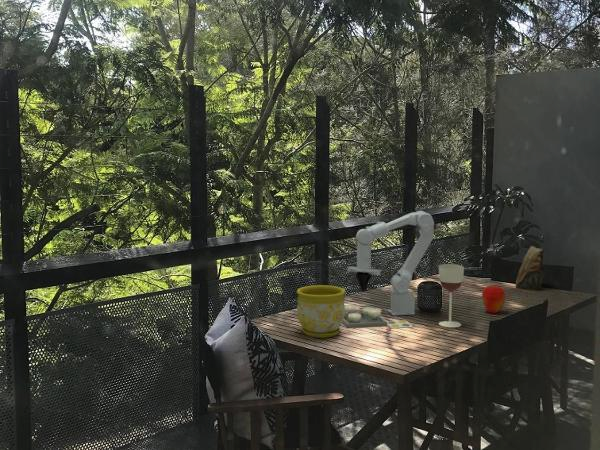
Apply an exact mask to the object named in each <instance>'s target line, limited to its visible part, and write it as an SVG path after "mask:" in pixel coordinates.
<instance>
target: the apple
mask: <svg viewBox="0 0 600 450" xmlns="http://www.w3.org/2000/svg"><path fill="white" fill-rule="evenodd" d="M481 295H482V301H483V306H484V308H485V310H486V311H487V312H488V313H491V314H497V313H498V312H500V311H501V310H502V309H503V307H504V305H505V302H506V293H505V291H504V289H503V288H502V287H500V286H497V285H496V286H495V285H488V286H486V287H485V288H484V289H483V291H482V294H481Z"/></svg>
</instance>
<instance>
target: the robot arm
mask: <svg viewBox="0 0 600 450" xmlns="http://www.w3.org/2000/svg"><path fill="white" fill-rule="evenodd" d="M407 225H410V226H415V227H417V229H418V231H419V237H418V238H417V240H416V242H415V244H414V246H413V248H412V250H411V251H410V253H409V255H408V256H407V258H406V260H405V262H404V263H403V265H402V267H401V268H400V269H399V270H397V273H396V274H395V275H393V276H392V277H391V278H390V285H391V287H392V288H391V291H390V309H387V312H388V313H390V314H391V315H392V316H406V315H409V316H411V315H416V312H415V303H416V302H415V294H414V293H413V292H412V291H409V289H410V283H411V281H412V278H413V274H414V272H415V271H416V268H417V267H418V265H419V263H420V262H421V260H422V258H423V257H424V255H425V253H426V251H427V250H428V248H429V246H430V245H431V242H433V239H434V237H435V236H434V232H435V231H434V225H435V221H434V218H433V216H432V215H431V214H430V213H428V212H425V211H424V210H417V211H415V212H410V213H407V214H405V215H403V216H401V217H399V218H396V219H394V220H391V221H390V222H389V221H388V222H387V223H386V222H385V221H377V222H376V223H375V224H373V225H371V226H368V225H367V226H366V227H365V228H362V229H359V230H358V231H357V233H356V235H355V238H356V240H357V242H356V245H357V246H356V266H347V272H348V273H355V277H356V279H357V281H358V285H359V287H360V291H361V292H365V291H367V287H368V284H369V281H370V279H371V278H372V276H373V275H374V276H380V275H381V269H376V268H372V264H371V263H372V247H371V243H372V241H375V240H378V239H379V238H380V239H381V238H382V237H383V238H384V237H385V236H388V235H389V233H390V231H392V230H395V229H398V228H401V227H404V226H407Z"/></svg>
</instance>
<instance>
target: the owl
mask: <svg viewBox="0 0 600 450" xmlns="http://www.w3.org/2000/svg"><path fill="white" fill-rule="evenodd" d="M544 251H545V250H544V249H543V248H538V247H536V246H533V245H531V246H530V247H529V248H528V250H527V252H526V254H525V255H524V256H523V259H522V263H521V266H520V267H519V270H518V273H517V277H516V281H515V289H518V290H528V291H534V292H535V291H536V292H538V291H539V292H540V291H542V284H543V280H544V279H543V277H544V276H543V272H544V257H545V256H544Z"/></svg>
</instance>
